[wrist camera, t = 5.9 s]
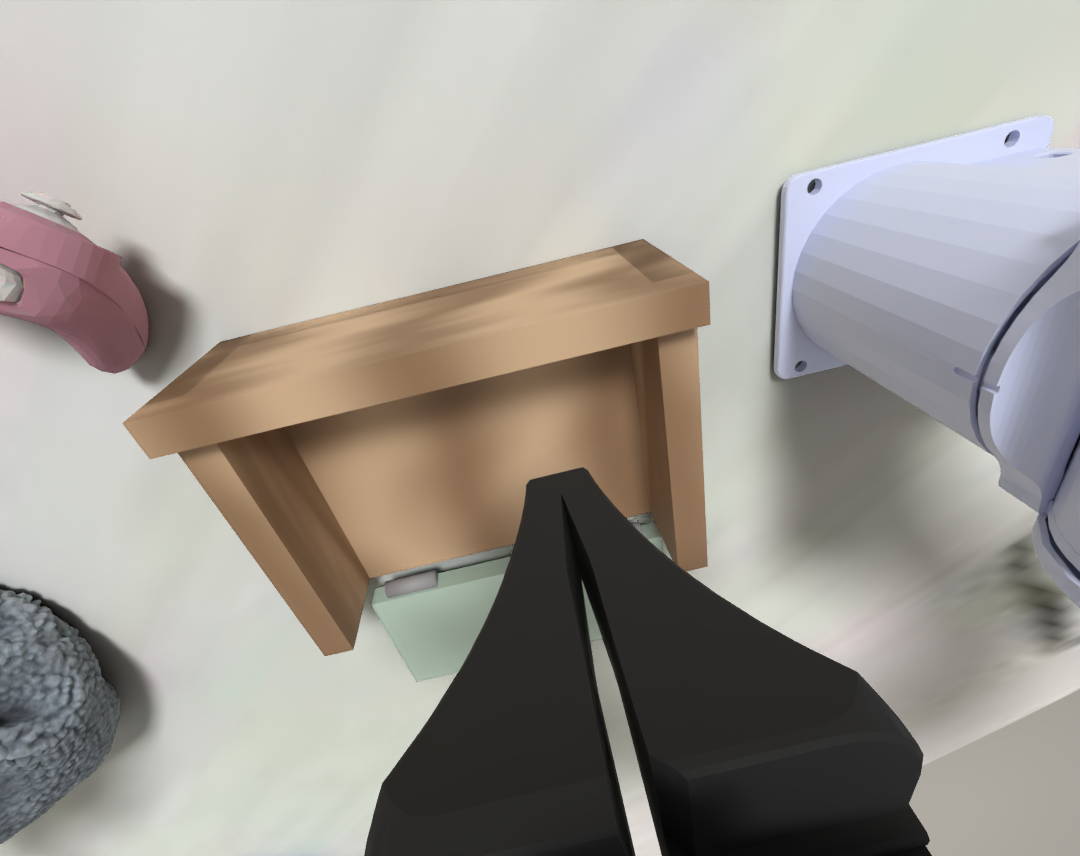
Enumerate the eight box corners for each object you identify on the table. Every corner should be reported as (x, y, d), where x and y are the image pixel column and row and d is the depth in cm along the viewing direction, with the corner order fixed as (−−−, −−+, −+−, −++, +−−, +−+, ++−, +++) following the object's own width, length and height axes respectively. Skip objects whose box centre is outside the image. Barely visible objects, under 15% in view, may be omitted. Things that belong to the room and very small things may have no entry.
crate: (643, 239, 18) (708, 281, 13) (666, 490, 25) (717, 585, 19) (220, 342, 18) (122, 423, 13) (350, 565, 25) (318, 679, 20)
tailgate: (659, 527, 23) (670, 622, 27) (653, 512, 24) (664, 607, 28) (366, 596, 23) (416, 682, 27) (370, 580, 24) (418, 665, 28)
